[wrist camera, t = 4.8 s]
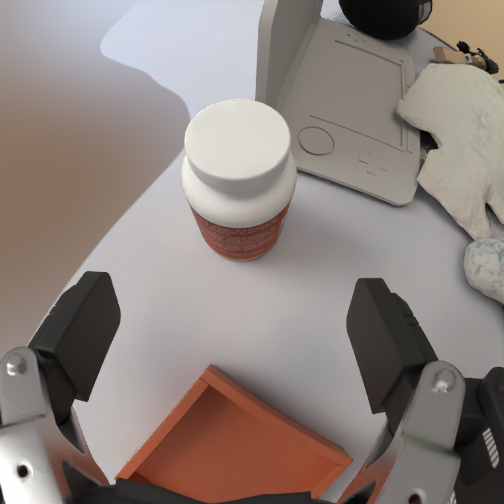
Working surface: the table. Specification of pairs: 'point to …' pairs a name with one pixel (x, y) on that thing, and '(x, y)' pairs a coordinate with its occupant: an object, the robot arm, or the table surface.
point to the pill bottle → (239, 176)
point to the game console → (339, 99)
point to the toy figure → (465, 58)
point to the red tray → (233, 448)
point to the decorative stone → (486, 267)
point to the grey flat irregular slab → (461, 141)
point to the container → (386, 16)
